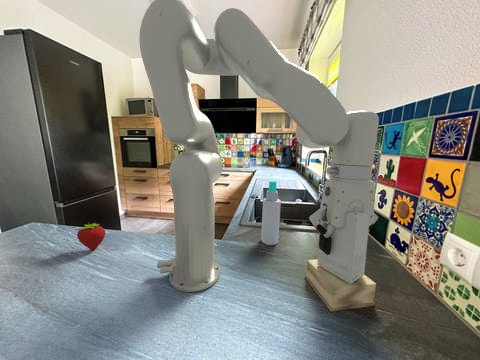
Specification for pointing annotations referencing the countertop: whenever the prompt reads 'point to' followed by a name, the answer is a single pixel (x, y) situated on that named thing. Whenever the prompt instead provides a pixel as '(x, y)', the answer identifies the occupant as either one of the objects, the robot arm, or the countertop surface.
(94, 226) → the strawberry
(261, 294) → the countertop surface
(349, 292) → the riser block
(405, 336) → the countertop surface
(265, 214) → the spray bottle
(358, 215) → the skincare box
